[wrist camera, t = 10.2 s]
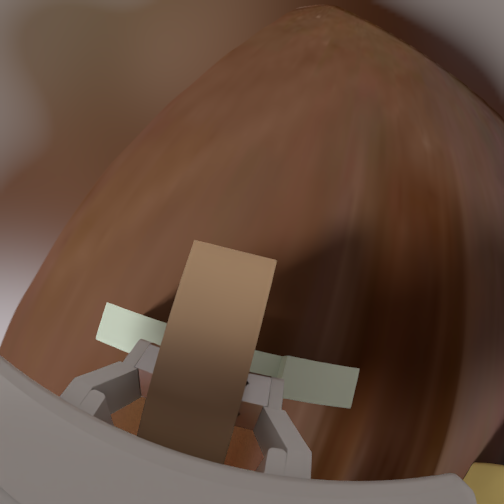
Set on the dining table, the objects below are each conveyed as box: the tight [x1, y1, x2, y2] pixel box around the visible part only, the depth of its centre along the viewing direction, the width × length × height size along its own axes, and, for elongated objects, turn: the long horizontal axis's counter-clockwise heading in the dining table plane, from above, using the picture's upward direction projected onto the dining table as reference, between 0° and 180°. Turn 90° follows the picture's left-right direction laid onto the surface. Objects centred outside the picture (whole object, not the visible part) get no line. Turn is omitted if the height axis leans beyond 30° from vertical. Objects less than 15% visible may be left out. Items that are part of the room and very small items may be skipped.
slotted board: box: [96, 303, 359, 408], centre depth 18 cm, size 2×16×6 cm, turn 76°
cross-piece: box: [137, 240, 277, 464], centre depth 12 cm, size 8×3×7 cm, turn 166°
